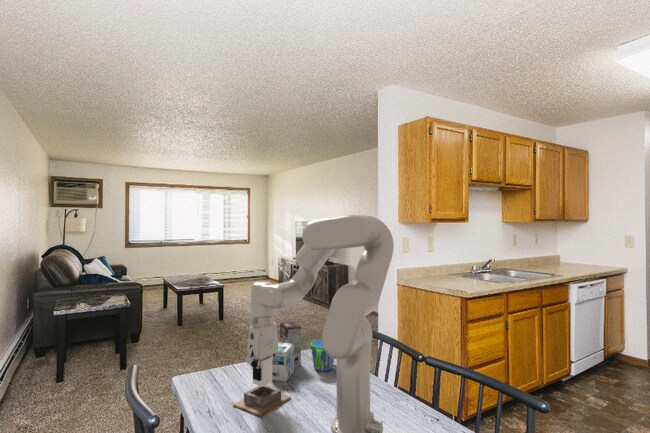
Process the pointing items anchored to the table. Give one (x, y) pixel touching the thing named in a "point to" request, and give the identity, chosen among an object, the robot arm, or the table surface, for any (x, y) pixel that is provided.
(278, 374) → the light bulb box
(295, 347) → the coffee box
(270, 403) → the socket
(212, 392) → the table surface
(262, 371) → the off-white rectangular box
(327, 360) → the snack cup
